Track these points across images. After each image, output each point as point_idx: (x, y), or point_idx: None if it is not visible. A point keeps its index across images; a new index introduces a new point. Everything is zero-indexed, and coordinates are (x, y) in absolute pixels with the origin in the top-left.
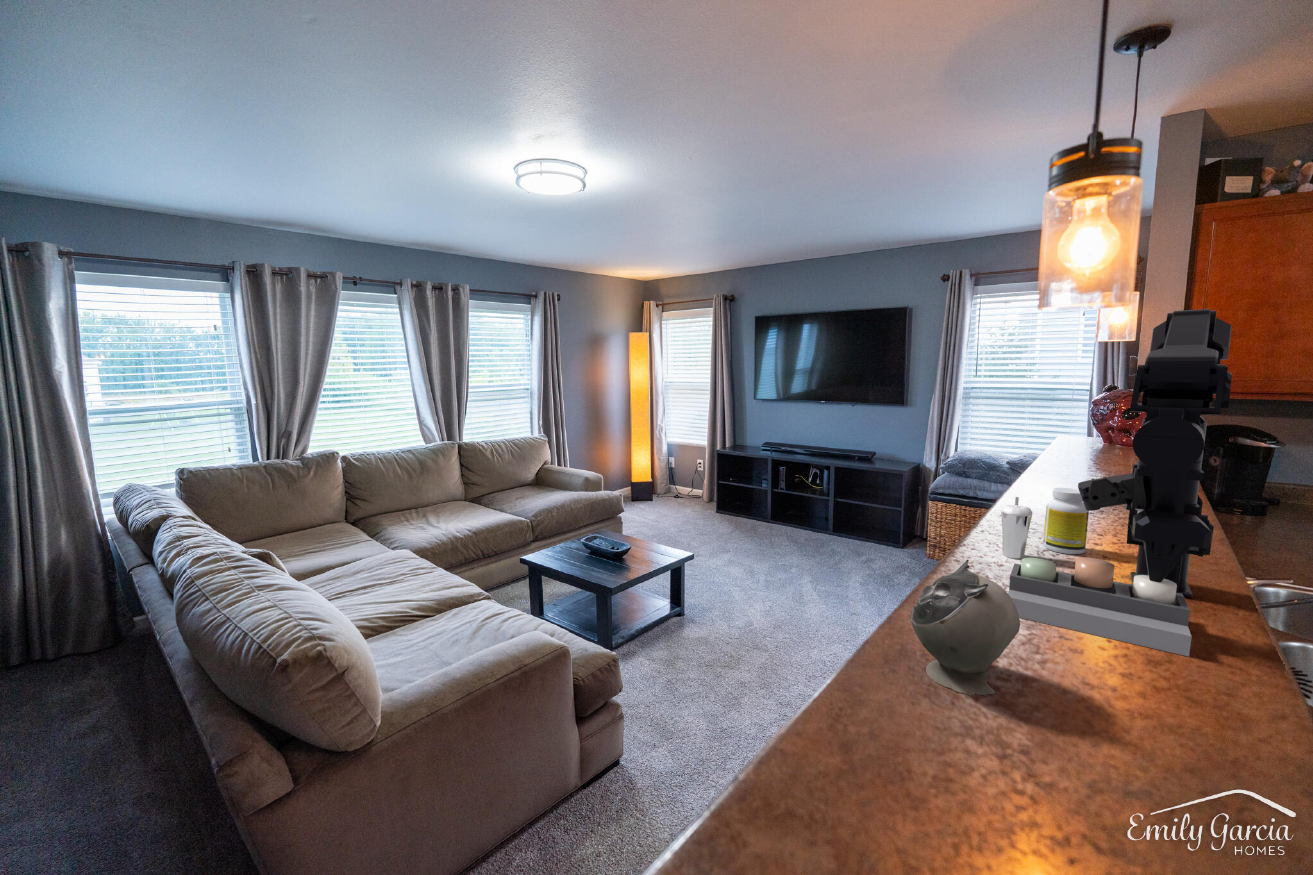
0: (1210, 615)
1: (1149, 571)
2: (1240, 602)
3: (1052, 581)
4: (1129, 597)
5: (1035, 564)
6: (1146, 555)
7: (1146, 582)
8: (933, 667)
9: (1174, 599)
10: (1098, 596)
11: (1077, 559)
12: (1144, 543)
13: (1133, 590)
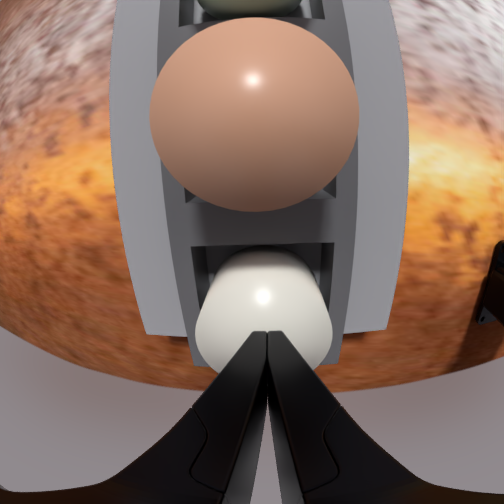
0: (413, 345)
1: (236, 355)
2: (469, 363)
3: (220, 11)
4: (184, 243)
5: None
6: (193, 412)
7: (217, 317)
8: None
9: None
10: None
11: (251, 23)
12: (297, 463)
13: (248, 259)
